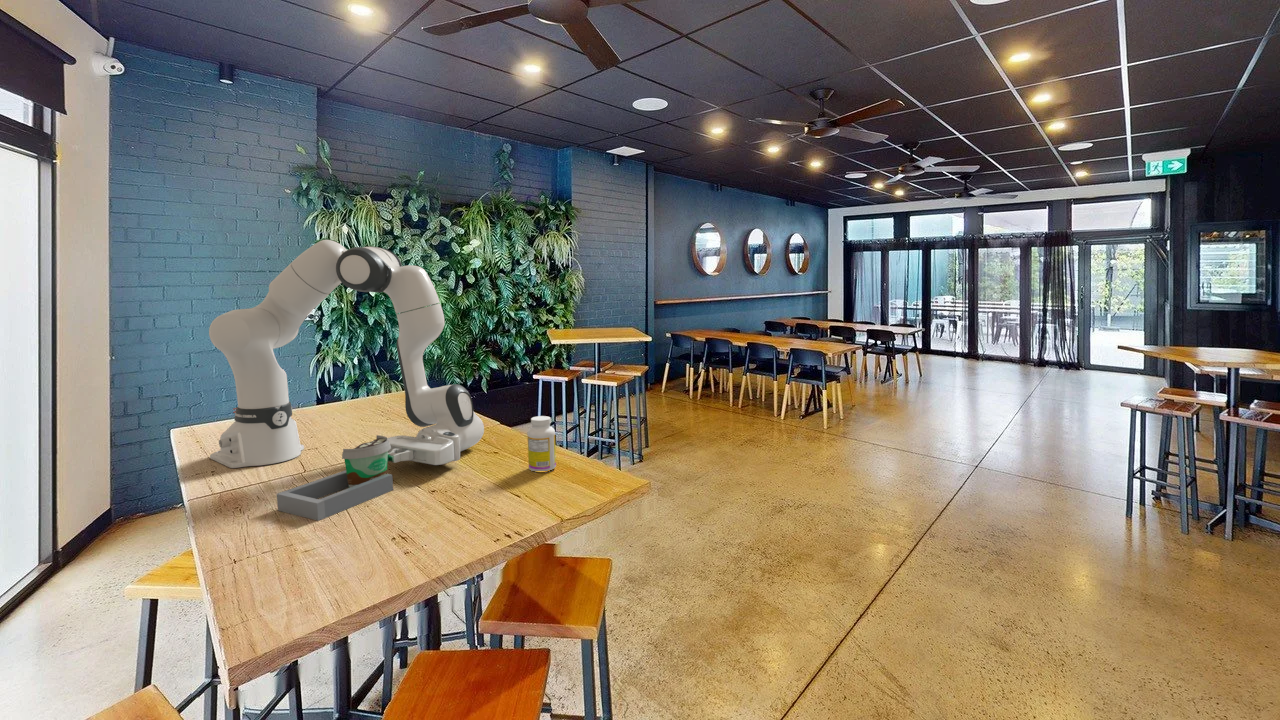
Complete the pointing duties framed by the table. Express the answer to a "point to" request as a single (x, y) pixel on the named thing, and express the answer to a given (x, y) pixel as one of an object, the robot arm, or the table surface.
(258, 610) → the table surface
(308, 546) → the table surface
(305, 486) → the grey rectangular tray
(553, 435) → the supplement bottle
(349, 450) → the food container
